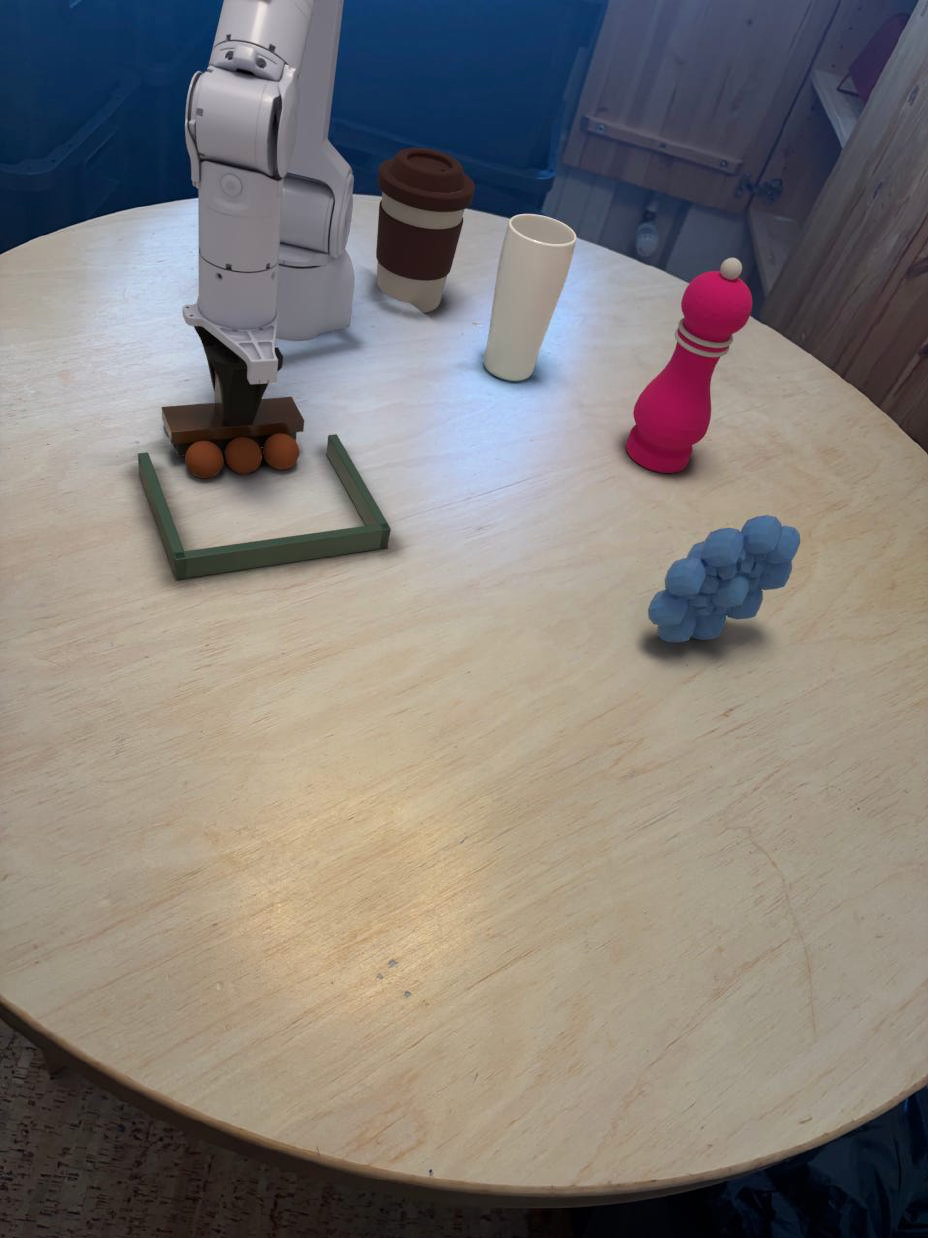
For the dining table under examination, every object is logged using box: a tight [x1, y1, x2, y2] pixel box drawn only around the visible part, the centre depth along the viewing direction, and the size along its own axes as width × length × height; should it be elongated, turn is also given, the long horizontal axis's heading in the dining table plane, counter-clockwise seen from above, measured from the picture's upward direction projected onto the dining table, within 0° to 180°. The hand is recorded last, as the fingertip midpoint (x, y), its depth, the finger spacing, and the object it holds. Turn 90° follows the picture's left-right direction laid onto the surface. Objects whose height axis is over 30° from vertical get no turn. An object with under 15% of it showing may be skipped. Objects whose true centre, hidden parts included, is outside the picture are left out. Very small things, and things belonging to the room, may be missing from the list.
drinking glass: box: [483, 213, 578, 382], centre depth 94 cm, size 7×7×15 cm
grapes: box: [647, 514, 801, 644], centre depth 72 cm, size 12×7×12 cm, turn 112°
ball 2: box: [262, 433, 300, 471], centre depth 80 cm, size 3×3×3 cm
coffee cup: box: [375, 147, 476, 314], centre depth 101 cm, size 10×10×15 cm
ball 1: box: [184, 441, 224, 479], centre depth 77 cm, size 3×3×3 cm
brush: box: [161, 341, 305, 457], centre depth 78 cm, size 4×11×9 cm, turn 115°
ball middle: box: [224, 437, 263, 475], centre depth 78 cm, size 3×3×3 cm
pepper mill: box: [625, 257, 753, 474], centre depth 86 cm, size 7×7×20 cm
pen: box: [137, 433, 392, 581], centre depth 75 cm, size 13×17×2 cm
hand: (234, 412), depth 79 cm, fingers closed on brush, 2 cm apart
